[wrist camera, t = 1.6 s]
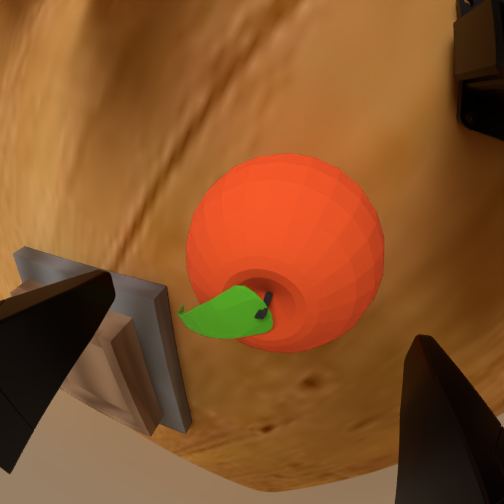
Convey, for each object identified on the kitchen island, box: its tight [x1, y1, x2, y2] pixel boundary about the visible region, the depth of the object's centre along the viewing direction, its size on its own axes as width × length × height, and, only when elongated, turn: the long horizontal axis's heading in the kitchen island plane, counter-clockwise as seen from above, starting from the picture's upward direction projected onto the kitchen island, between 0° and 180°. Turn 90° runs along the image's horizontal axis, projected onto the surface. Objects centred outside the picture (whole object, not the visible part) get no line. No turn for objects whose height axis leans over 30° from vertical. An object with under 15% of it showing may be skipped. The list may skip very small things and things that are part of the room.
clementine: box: [178, 154, 384, 353], centre depth 11 cm, size 8×7×7 cm
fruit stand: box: [11, 246, 192, 437], centre depth 22 cm, size 16×16×4 cm
